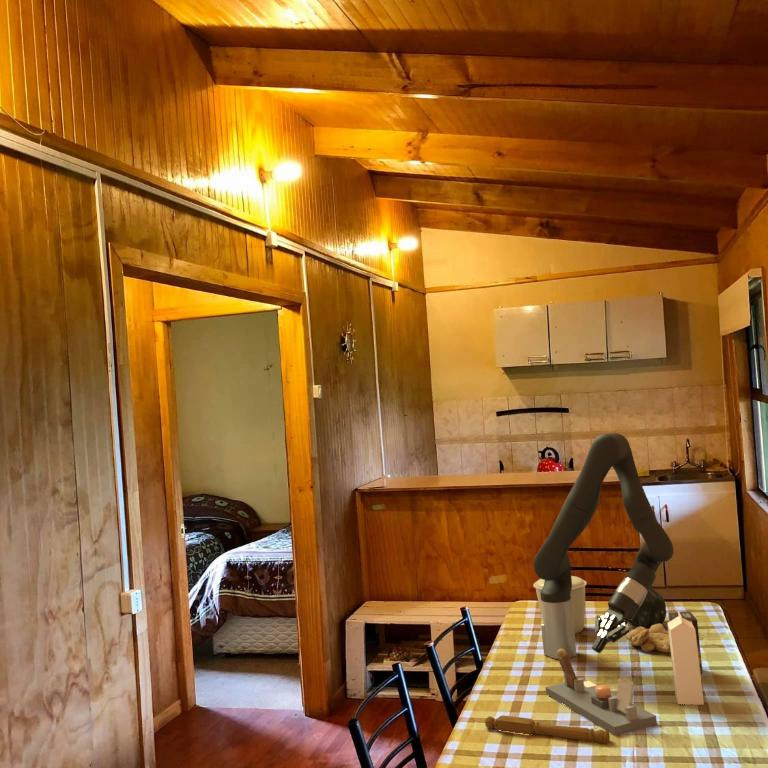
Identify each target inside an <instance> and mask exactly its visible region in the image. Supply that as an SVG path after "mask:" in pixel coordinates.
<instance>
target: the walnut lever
mask: <svg viewBox="0 0 768 768" xmlns="http://www.w3.org/2000/svg"><path fill="white" fill-rule="evenodd" d="M557 657H558V659H557V660H558V662H559V665H560V667H561V669H562V672H563V676H564V675H565V677H566V680H567V682H568V685H570V686H571V687H573V688H574V680H575V679H578V678H577V675H576V673H575V670H574V668H573V665H572V662H571V660H570V658H568V655H567V653H566V651H565V650H564V649H559V650H558V651H557Z"/></svg>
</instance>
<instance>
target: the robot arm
mask: <svg viewBox="0 0 768 768" xmlns="http://www.w3.org/2000/svg"><path fill="white" fill-rule="evenodd" d="M611 468H612V469H613V470H614V471H615V474H616V476H617V478H618V482H619V485H620V489H621V496H622V502H623V506H624V509H625V512H626V514H627V517H628V519H629V521H630V523H631V525H632V527H633V530H634V531H635V532H636V533H639V534H640V535H641V537H642V539H643V540H644V542H643V544H642V545H641V546H640V548H639V549H638V552H637V554H636V556H635V558H634V562H633V564H632V566H631V567H630V568H629V570H628V572H627V573H626V575H625V577H624V578H623V579H622V580H621V582H620V583H619V584H618V586H617V588H616V589H615V591H614V592H613V594H612V595H611V597H610V599H609V600H608V602H607V607H608V609H606V611H605V612H604V613H603V615H596V616H595V620H594V624H595V625H594V632H595V634H596V635H597V637H596V639H595V641H594V642H593V644H592V646H591V649H592V650H593V651H594V652H596V653H597V654H601V653H602V651H603V650H604V648H605V647H606V645H607V644H608V643H610V642H612V643H615V642H617V641H618V640H620V639H621V638H623V637H625V635H626V634H629V633H630V632H631V631H630V629H629V628H628V623H629V622H628V620H632V619H633V618H634V616H635V614H636V613H637V611H638V609H639V608H640V606H641V604H642V603H643V601H644V599H645V597H646V594H647V592H648V591H649V589H650V588H652V586H653V584H654V582H655V580H656V576H657V575H656V572H657V571H658V569H659V567H660V565H661V564H662V563H665V562H668V561H670V560H671V559H672V557H673V556H674V551H675V550H674V545H673V542H672V540H671V538H670V536H669V535H668V533H667V532H666V530H665V529H664V528H663V526H662V524H660V523H659V521H658V519H657V516H656V514H655V512H654V509H653V508H652V505H651V502H650V501H649V499H648V496H647V495H646V492H645V489H644V487H643V484H642V482H641V478H640V475H639V473H638V469H637V467H636V463H635V460H634V455H633V451H632V448H631V445H630V442H629V441H628V439H627V438H626V437H625V436H624V435H623V434H622V433H621V434H620V433H616V432H612V433H603V434H600V435H598V436H596V437H595V438H594V440H593V441H592V442H591V445H590V447H589V450H588V453H587V455H586V458H585V461H584V463H583V466H582V468H581V471H580V472H579V475H578V476H577V478H576V480H575V482H574V484H573V486H572V487H571V490H570V491H569V493H568V495H567V497H566V499H565V500H564V503H563V505H562V507H561V509H560V511H559V513H558V515H557V518H556V519H555V522H554V523H553V526H552V528H551V530H550V532H549V534H548V536H547V538H546V539H545V541H544V542H543V544H542V545H541V547H540V548H539V550H538V551H537V552H536V555H535V557H534V559H533V565H532V567H533V571H534V573H535V575H536V576H537V577H538V578H539V579H543V580H545V582H544V586H543V588H542V590H541V604H542V613H543V620H542V623H541V624H540V626H541V627H540V630H541V636H542V637H541V638H542V646H543V647H542V649H543V655H544V656H547V657H548V656H549V657H548V658H551V659H557V660H558V657H557V651H558V650H559V649H564V650H565V651H566V653H567V655H568V658H569V659H571V658H572V659H573V658H574V657H576V656H577V643H576V634H575V633H574V624H573V614H572V605H571V589H572V578H571V576H572V567H571V560H570V557H569V555H568V551H569V550H570V548H571V546H572V545H573V543H574V542H575V541H576V540H577V539H578V537H579V536H580V535H581V534H582V533H583V532H584V531H585V530H586V528H587V526H588V525H589V524H590V522H591V520H592V519H593V516H594V515H595V512H596V511H597V509H598V506H599V502H600V498H601V497H600V496H601V490H602V486H603V483H604V481H605V479H606V477H607V475H608V473H609V471H610V470H611Z"/></svg>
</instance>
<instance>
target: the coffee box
mask: <svg viewBox="0 0 768 768" xmlns="http://www.w3.org/2000/svg"><path fill="white" fill-rule="evenodd" d="M679 613H680V615H681V616H682V618H684V619H686V620H688V621H690V622H691V623H692V624H693V626H694V628H695V631H696V640H697V649H698V658H699V666H700V675H701V680H704V672H703V664H702V663H703V661H702V655H701V645H700V644H701V643H700V636H699V624H698V619H697V618H696V616H695V615H694V614H693V613H692V612H691V611H679ZM667 617H668V622H670V621H672V620H673V619H675V618H676V617H678V611H675V612H667Z"/></svg>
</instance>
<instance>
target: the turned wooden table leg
mask: <svg viewBox="0 0 768 768" xmlns="http://www.w3.org/2000/svg"><path fill="white" fill-rule="evenodd" d="M484 724H485V727H486V728H487V729H489V728H493V729H496V730H497V731H498V730H501V731H509V732H515V733H523V734H529V735H531V734H533V735H535V734H536V735H537V736H539V735H546V736H551V737H557V736H558V737H559V738H563V737H564V738H565V739H571V740H576V741H577V740H578V741H582V742H591V743H593V742H595V741H596V742H597V743H599V744H606V745H608V744H609V743H610V739H611V737H610V732H609V731H607V730H605V729H597V730H594V728H589V727H581V726H580V727H579V726H568V725H554V724H541V723H540V722H535V721H534V719H532V718H527V717H521V716H512V715H511V716H510V715H499V717H497V718H496V719H495V718H494V717H493V716H488V717H486V719H485V721H484ZM534 733H535V734H534ZM538 734H539V735H538ZM531 736H532V735H531Z"/></svg>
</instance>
